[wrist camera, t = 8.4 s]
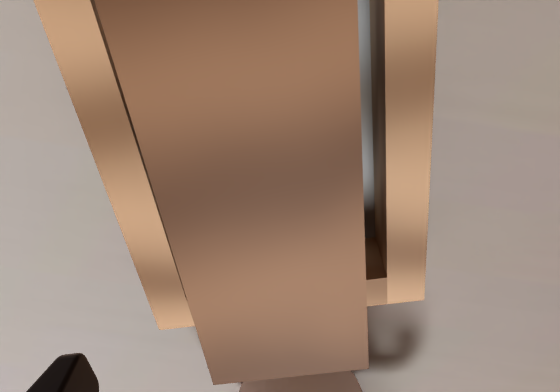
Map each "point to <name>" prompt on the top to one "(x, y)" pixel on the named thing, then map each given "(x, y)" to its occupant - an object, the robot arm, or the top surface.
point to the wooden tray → (375, 146)
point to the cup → (306, 383)
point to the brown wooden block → (254, 172)
